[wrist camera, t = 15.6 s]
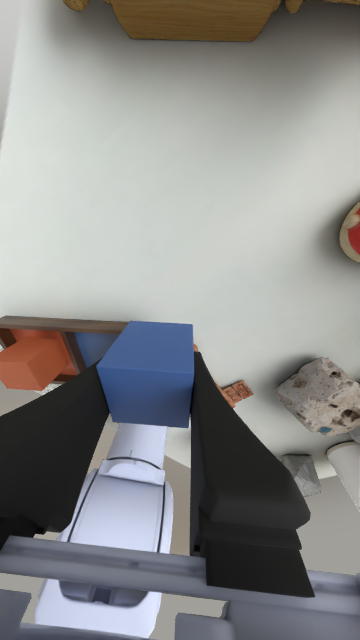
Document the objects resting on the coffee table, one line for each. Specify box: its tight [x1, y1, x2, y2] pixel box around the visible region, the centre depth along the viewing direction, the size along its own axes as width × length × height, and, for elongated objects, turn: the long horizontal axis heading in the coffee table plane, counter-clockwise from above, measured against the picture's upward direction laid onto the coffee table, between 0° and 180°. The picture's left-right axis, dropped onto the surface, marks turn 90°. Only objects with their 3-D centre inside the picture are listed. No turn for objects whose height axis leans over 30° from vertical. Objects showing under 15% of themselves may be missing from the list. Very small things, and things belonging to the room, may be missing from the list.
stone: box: [276, 357, 360, 437], centre depth 20 cm, size 13×6×10 cm
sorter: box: [0, 316, 129, 384], centre depth 21 cm, size 18×10×2 cm, turn 89°
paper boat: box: [282, 455, 321, 497], centre depth 30 cm, size 12×6×9 cm
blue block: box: [96, 321, 194, 428], centre depth 10 cm, size 4×4×4 cm
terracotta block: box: [0, 337, 69, 391], centre depth 19 cm, size 4×4×4 cm
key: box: [193, 344, 253, 408], centre depth 22 cm, size 6×1×15 cm
